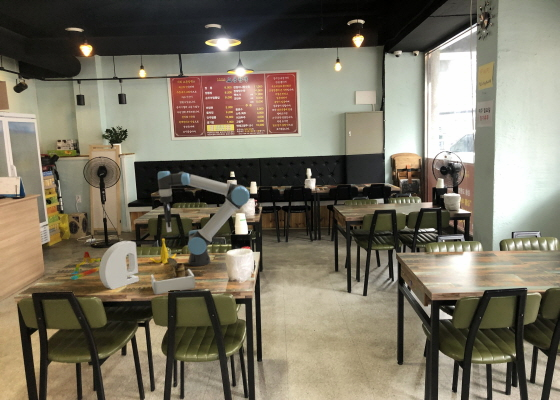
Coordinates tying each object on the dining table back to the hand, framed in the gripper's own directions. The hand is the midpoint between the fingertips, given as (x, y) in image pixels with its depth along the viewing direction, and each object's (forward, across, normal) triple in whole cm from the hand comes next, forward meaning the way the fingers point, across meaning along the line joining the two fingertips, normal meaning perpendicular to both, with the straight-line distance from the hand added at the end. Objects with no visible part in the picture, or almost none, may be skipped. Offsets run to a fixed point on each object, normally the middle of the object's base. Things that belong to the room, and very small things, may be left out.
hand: (169, 231), depth 273 cm
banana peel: (+26, -26, -3) cm, 37 cm away
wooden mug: (+26, +28, -3) cm, 39 cm away
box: (+26, +33, -6) cm, 42 cm away
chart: (+25, -26, -48) cm, 61 cm away
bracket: (+26, +11, -33) cm, 43 cm away
